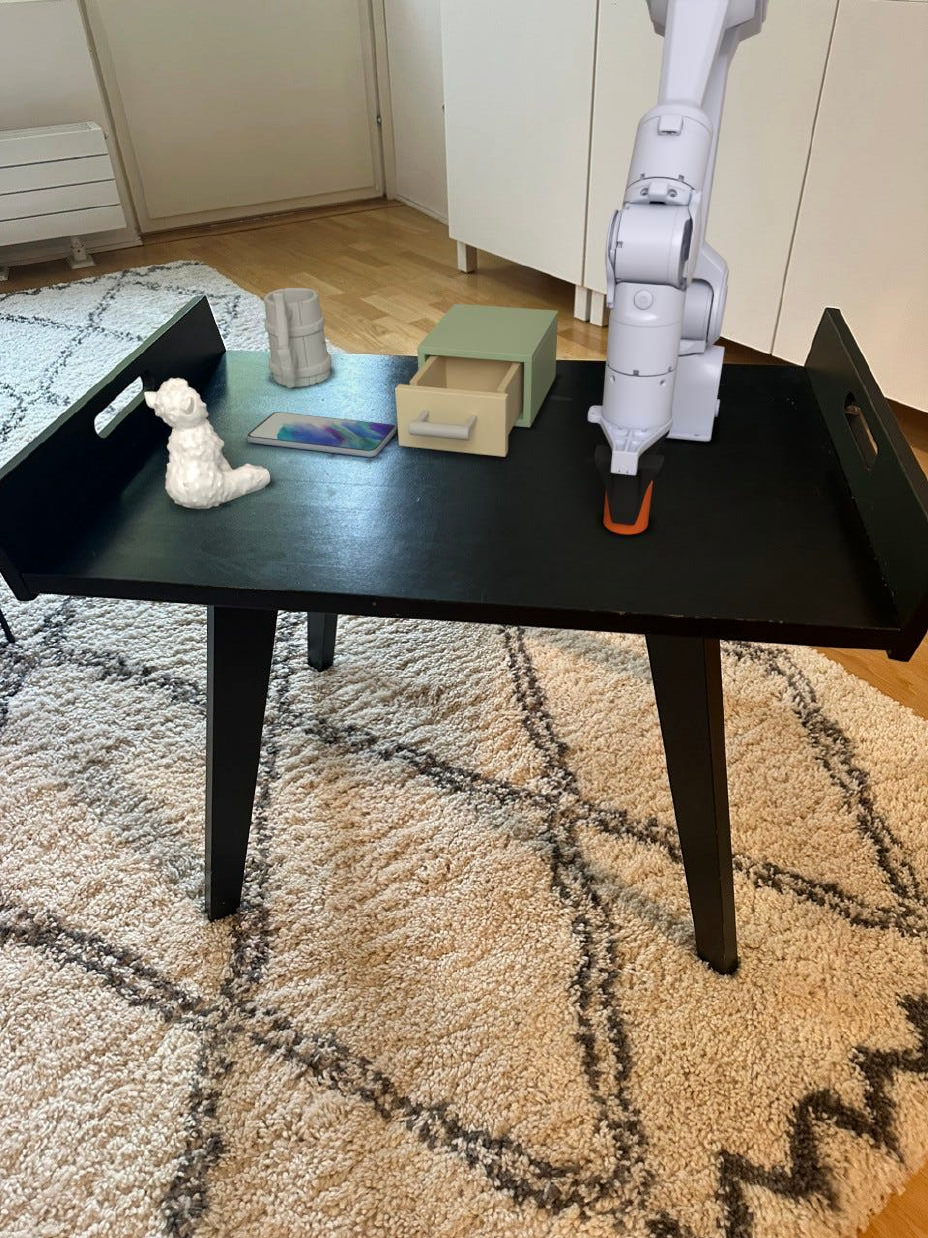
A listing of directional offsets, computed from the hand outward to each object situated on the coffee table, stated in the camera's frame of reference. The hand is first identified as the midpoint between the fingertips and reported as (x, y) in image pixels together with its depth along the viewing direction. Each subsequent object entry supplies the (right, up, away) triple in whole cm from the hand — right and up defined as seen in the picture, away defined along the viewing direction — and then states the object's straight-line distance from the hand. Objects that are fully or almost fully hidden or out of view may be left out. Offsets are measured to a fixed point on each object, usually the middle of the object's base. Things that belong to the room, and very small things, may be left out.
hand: (626, 509), depth 81 cm
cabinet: (-12, +16, +24) cm, 31 cm away
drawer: (-15, +10, +15) cm, 23 cm away
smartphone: (-30, +10, +16) cm, 35 cm away
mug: (-35, +19, +29) cm, 49 cm away
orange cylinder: (0, -1, +1) cm, 1 cm away
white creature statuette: (-40, +2, +7) cm, 40 cm away
